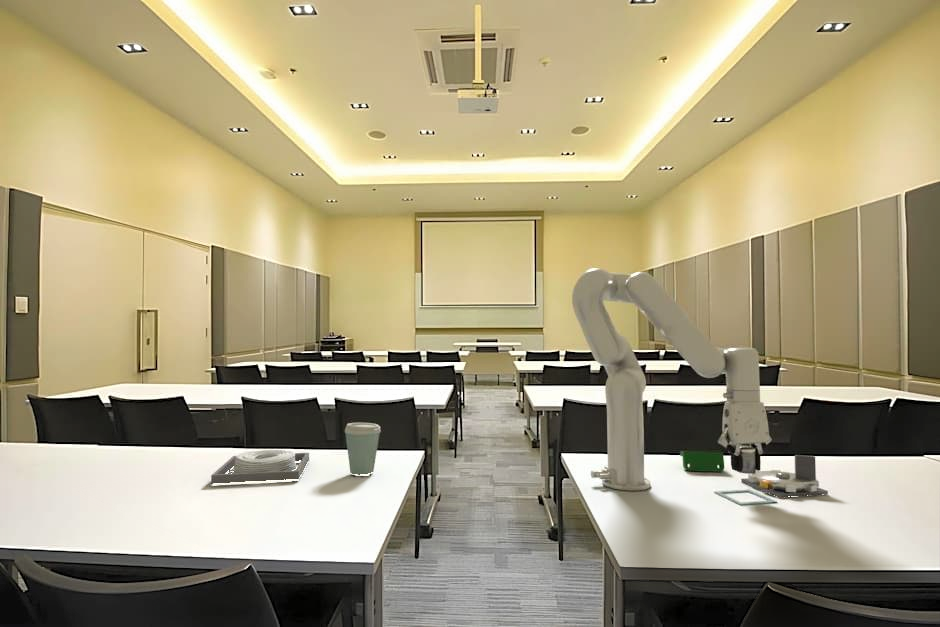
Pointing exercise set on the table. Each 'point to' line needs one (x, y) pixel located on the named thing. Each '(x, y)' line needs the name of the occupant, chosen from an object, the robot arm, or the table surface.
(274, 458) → the cable
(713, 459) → the green mounting bracket
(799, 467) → the sprocket
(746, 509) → the table surface
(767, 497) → the seat bay
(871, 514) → the table surface
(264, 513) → the table surface
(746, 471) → the silver metal cylinder
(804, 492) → the sprocket base
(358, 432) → the disposable coffee cup
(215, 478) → the cable tray
